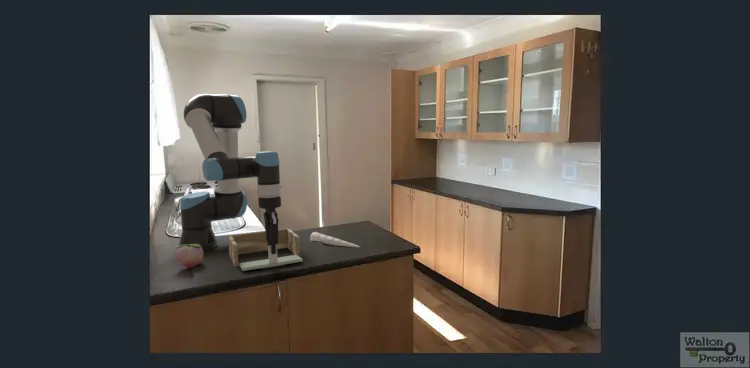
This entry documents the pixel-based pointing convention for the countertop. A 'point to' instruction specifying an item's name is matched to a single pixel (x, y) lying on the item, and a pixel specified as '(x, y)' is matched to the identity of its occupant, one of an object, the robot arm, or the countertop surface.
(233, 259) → the box
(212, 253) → the countertop surface
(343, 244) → the unicorn horn
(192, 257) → the decorative fruit
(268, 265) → the pale green panel
